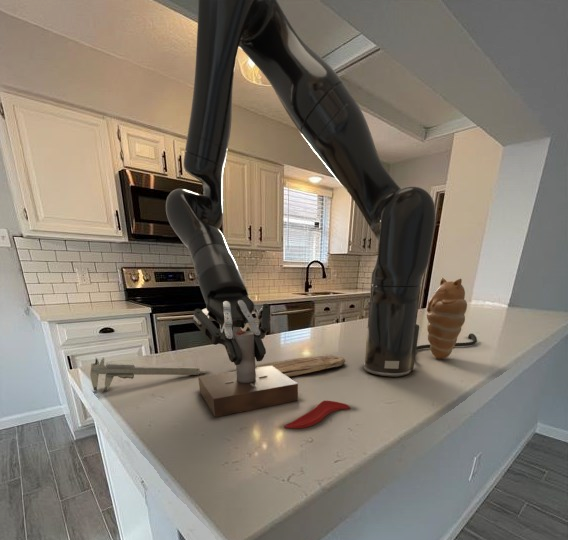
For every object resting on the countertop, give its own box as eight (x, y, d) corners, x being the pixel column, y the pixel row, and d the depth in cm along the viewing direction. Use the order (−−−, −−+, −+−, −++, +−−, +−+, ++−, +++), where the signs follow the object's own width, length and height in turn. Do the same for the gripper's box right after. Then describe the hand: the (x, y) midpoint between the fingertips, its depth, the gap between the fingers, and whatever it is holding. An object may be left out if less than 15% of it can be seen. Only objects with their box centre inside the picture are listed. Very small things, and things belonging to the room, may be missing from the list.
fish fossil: (242, 387, 59) (241, 381, 59) (225, 375, 68) (224, 370, 68) (352, 363, 70) (352, 358, 70) (325, 356, 79) (325, 351, 79)
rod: (244, 375, 57) (242, 328, 54) (259, 378, 55) (257, 330, 52) (232, 380, 54) (229, 332, 51) (248, 384, 53) (245, 334, 50)
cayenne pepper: (342, 402, 53) (342, 392, 52) (359, 414, 49) (360, 402, 48) (275, 417, 48) (274, 406, 47) (288, 431, 44) (288, 419, 43)
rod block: (271, 379, 63) (271, 364, 62) (298, 400, 54) (298, 382, 53) (200, 392, 58) (198, 375, 56) (215, 417, 48) (213, 398, 47)
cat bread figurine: (413, 355, 78) (423, 277, 72) (438, 352, 81) (450, 276, 74) (441, 365, 70) (455, 279, 64) (468, 361, 73) (484, 278, 67)
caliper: (94, 393, 58) (86, 359, 56) (94, 391, 59) (86, 358, 56) (205, 373, 67) (203, 344, 65) (204, 372, 68) (201, 343, 66)
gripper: (180, 262, 51) (211, 354, 45) (260, 261, 57) (296, 342, 52) (177, 294, 57) (203, 379, 51) (250, 290, 64) (280, 365, 58)
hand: (250, 360), depth 52 cm, fingers closed on rod, 3 cm apart
